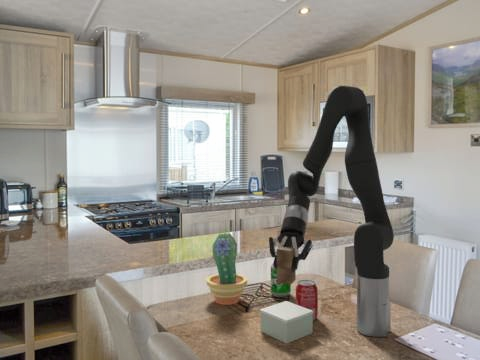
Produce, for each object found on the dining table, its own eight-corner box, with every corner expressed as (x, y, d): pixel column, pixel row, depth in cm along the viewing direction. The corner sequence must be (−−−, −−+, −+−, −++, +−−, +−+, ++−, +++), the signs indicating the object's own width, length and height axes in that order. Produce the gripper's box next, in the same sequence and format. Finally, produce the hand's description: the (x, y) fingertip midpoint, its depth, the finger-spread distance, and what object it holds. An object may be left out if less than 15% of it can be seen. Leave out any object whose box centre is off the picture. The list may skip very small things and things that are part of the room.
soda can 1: (271, 290, 168) (271, 260, 168) (290, 291, 167) (290, 261, 167) (270, 297, 161) (270, 265, 160) (290, 298, 160) (290, 266, 159)
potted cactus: (197, 301, 157) (196, 233, 156) (225, 290, 169) (225, 228, 167) (228, 311, 147) (227, 239, 146) (256, 299, 159) (256, 232, 157)
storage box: (313, 333, 129) (313, 310, 129) (286, 344, 122) (286, 320, 121) (286, 322, 138) (286, 300, 137) (259, 331, 131) (259, 309, 130)
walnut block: (295, 279, 130) (295, 247, 129) (291, 284, 126) (291, 250, 125) (281, 278, 132) (281, 246, 131) (276, 282, 128) (276, 249, 127)
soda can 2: (304, 312, 145) (304, 277, 144) (322, 318, 140) (322, 282, 139) (291, 318, 140) (291, 282, 140) (309, 324, 135) (309, 287, 135)
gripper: (270, 214, 137) (258, 260, 127) (315, 216, 132) (306, 265, 121) (275, 228, 142) (264, 273, 132) (318, 230, 137) (310, 278, 127)
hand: (284, 269), depth 127 cm, fingers closed on walnut block, 4 cm apart
